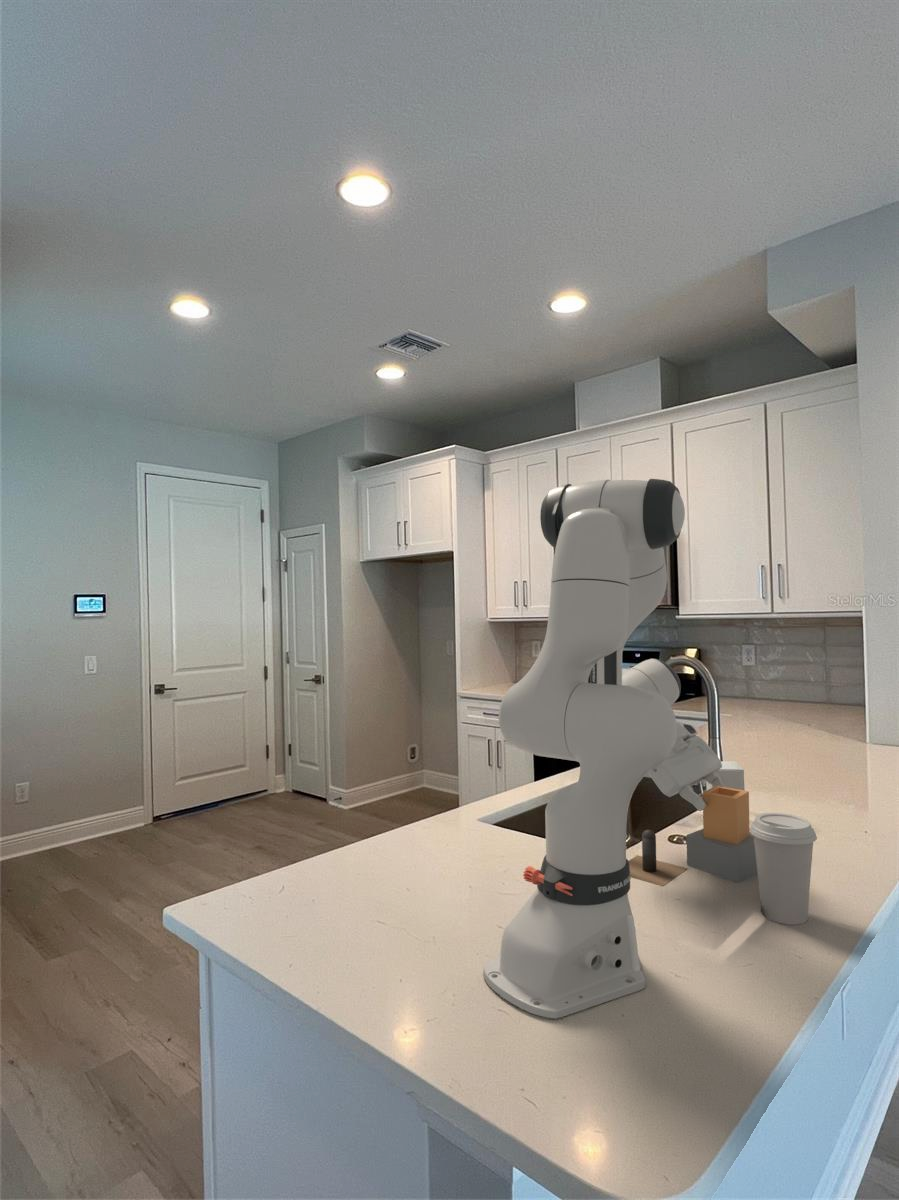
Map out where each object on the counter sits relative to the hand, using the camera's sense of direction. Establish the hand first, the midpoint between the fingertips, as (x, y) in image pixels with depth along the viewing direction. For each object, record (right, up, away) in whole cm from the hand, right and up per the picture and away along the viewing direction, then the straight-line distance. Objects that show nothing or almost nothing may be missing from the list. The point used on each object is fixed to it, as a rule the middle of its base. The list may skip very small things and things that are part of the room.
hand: (715, 802), depth 128 cm
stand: (-13, -13, -2) cm, 18 cm away
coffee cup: (+4, -13, -18) cm, 22 cm away
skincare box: (+8, -13, +16) cm, 22 cm away
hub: (+2, -13, -1) cm, 13 cm away
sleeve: (+2, -6, -1) cm, 6 cm away
